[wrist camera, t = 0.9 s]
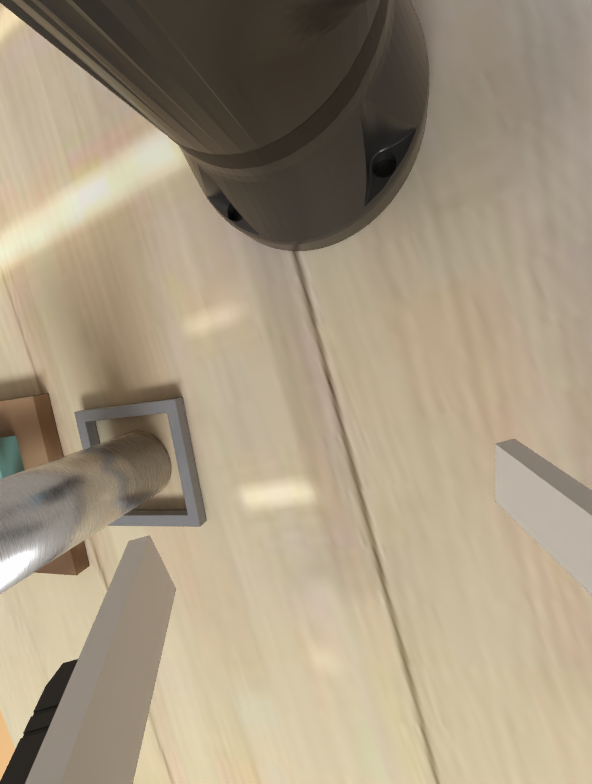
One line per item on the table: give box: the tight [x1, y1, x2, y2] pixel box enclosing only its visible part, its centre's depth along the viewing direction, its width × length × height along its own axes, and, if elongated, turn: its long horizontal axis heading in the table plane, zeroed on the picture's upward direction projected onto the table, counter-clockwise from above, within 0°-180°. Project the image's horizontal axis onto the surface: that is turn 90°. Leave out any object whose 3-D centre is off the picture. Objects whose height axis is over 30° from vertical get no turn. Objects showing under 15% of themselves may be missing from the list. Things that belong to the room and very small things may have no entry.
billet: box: [0, 431, 171, 594], centre depth 25 cm, size 6×6×14 cm
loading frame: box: [74, 397, 206, 527], centre depth 31 cm, size 11×11×1 cm
